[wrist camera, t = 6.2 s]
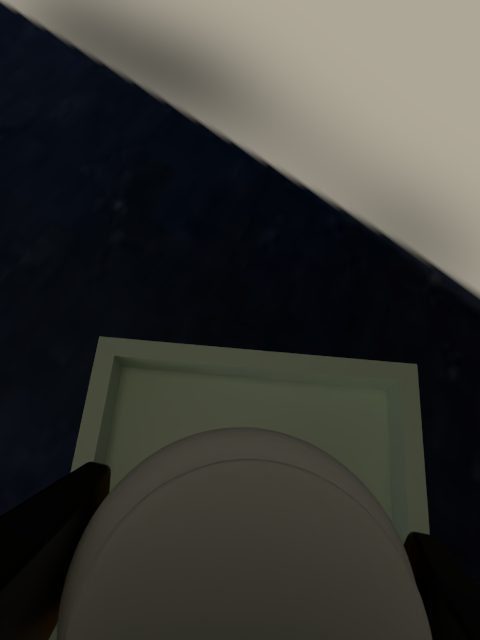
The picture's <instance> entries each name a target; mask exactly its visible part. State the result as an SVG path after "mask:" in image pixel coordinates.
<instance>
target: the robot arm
mask: <svg viewBox="0 0 480 640" xmlns="http://www.w3.org/2000/svg"><path fill="white" fill-rule="evenodd" d="M110 478H111V469H110V467H109V466H108V465H106V464H101V463H97V462H87V463H85V464H84V465H82V466H80V467H79V468H77V469H76V470H74V471H72V472H71V473H69V474H68V475H66V476H64V477H63V478H61V479H60V480H58V481H56V482H55V483H53V484H52V485H50V486H48V487H47V488H45V489H44V490H42V491H40V492H39V493H37V494H35V495H34V496H32V497H31V498H29V499H27V500H26V501H24V502H23V503H21V504H19V505H18V506H16V507H15V508H13V509H11V510H10V511H8V512H7V513H5V514H3V515H2V516H0V640H49V638H50V636H51V634H52V632H53V630H54V628H55V627H56V625H57V623H58V613H59V607H60V601H61V595H62V591H63V587H64V583H65V579H66V575H67V572H68V569H69V565H70V563H71V560H72V557H73V555H74V552H75V550H76V547H77V545H78V543H79V541H80V539H81V536H82V534H83V532H84V530H85V528H86V527H87V525H88V523H89V521H90V520H91V518H92V516H93V515H94V513H95V512H96V510H97V509H98V507H99V506H100V505H101V503H102V502H103V500H104V499H105V498H106V497H107V496H108V494H109V490H110ZM403 546H404V548H405V551H406V553H407V556H408V559H409V562H410V565H411V568H412V571H413V574H414V578H415V582H416V586H417V588H418V591H419V593H420V595H421V598H422V601H423V605H424V608H425V611H426V614H427V618H428V622H429V626H430V630H431V634H432V640H480V587H479V586H478V585H477V584H476V583H475V581H474V580H473V579H472V578H471V577H470V576H469V575H468V574H467V572H466V571H465V570H464V569H463V568H462V567H461V566H460V565H459V563H458V562H457V561H456V560H455V559H454V558H453V557H452V556H451V554H450V553H449V552H448V551H447V550H446V549H445V548H444V547H443V545H442V544H441V543H440V542H439V541H438V540H437V539H436V538H435V537H434V536H432V535H429V534H424V533H420V532H415V531H413V532H410V533H409V534H408V536H407V537H406V540H405V542H404V545H403Z"/></svg>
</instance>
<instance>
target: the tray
mask: <svg viewBox="0 0 480 640" xmlns="http://www.w3.org/2000/svg"><path fill="white" fill-rule="evenodd" d="M235 427H251V428H261V429H267V430H272V431H277V432H281V433H284V434H288V435H291V436H294V437H296V438H299V439H301V440H304V441H306V442H308V443H310V444H312V445H314V446H316V447H318V448H320V449H321V450H323V451H325V452H326V453H328V454H329V455H331V456H332V457H334V458H335V459H336V460H338V461H339V462H341V463H342V464H343V465H344V466H346V467H347V468H348V469H349V470H350V471H352V472H353V473H354V474H355V475H356V476H357V477H358V478H359V479H360V480H361V481H362V482H363V484H364V485H365V486H366V487H367V488H368V489H369V490H370V492H371V493H372V494H373V495H374V496H375V498H376V499H377V500H378V502H379V503H380V505H381V506H382V507H383V509H384V510H385V512H386V514H387V515H388V517H389V518H390V520H391V522H392V523H393V525H394V527H395V529H396V531H397V533H398V535H399V537H400V540H401V542H402V544H403V545H404V542H405V540H406V537H407V536H408V534H409V533H410V532H413V531H415V532H420V533H424V534H429V535H430V532H429V519H428V505H427V492H426V478H425V465H424V451H423V438H422V424H421V411H420V397H419V384H418V370H417V364H407V363H396V362H384V361H373V360H362V359H350V358H339V357H327V356H316V355H304V354H293V353H281V352H270V351H259V350H247V349H236V348H224V347H213V346H201V345H190V344H178V343H167V342H156V341H144V340H133V339H121V338H110V337H99V341H98V346H97V350H96V355H95V360H94V364H93V369H92V374H91V379H90V383H89V388H88V393H87V398H86V402H85V407H84V412H83V417H82V421H81V426H80V431H79V435H78V440H77V445H76V450H75V454H74V459H73V464H72V469H71V472H72V471H74V470H76V469H77V468H79V467H80V466H82V465H84V464H85V463H87V462H97V463H101V464H106V465H108V466H109V467H110V469H111V478H110V490H109V493H110V492H111V491H112V490H113V488H114V487H115V486H116V485H117V484H118V483H119V482H120V481H121V480H122V479H123V478H124V477H125V476H126V475H127V474H128V473H129V472H130V471H131V470H132V469H133V468H134V467H136V466H137V465H138V464H140V463H141V462H142V461H143V460H145V459H146V458H147V457H149V456H150V455H152V454H153V453H155V452H157V451H158V450H160V449H161V448H163V447H165V446H167V445H169V444H171V443H173V442H175V441H177V440H180V439H183V438H185V437H188V436H191V435H194V434H197V433H201V432H204V431H210V430H215V429H222V428H235ZM57 624H58V623H57ZM49 640H57V625H56V627H55V628H54V630H53V632H52V634H51V636H50V638H49Z"/></svg>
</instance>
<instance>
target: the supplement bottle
mask: <svg viewBox="0 0 480 640" xmlns="http://www.w3.org/2000/svg"><path fill="white" fill-rule="evenodd" d="M57 640H432V634H431V630H430V626H429V622H428V618H427V614H426V611H425V608H424V605H423V601H422V598H421V595H420V593H419V591H418V588H417V586H416V582H415V578H414V574H413V571H412V568H411V565H410V562H409V559H408V556H407V553H406V551H405V548H404V546H403V544H402V542H401V540H400V537H399V535H398V533H397V531H396V529H395V527H394V525H393V523H392V522H391V520H390V518H389V517H388V515H387V514H386V512H385V510H384V509H383V507H382V506H381V505H380V503H379V502H378V500H377V499H376V498H375V496H374V495H373V494H372V493H371V492H370V490H369V489H368V488H367V487H366V486H365V485H364V484H363V482H362V481H361V480H360V479H359V478H358V477H357V476H356V475H355V474H354V473H353V472H352V471H350V470H349V469H348V468H347V467H346V466H344V465H343V464H342V463H341V462H339V461H338V460H336V459H335V458H334V457H332V456H331V455H329V454H328V453H326V452H325V451H323V450H321V449H320V448H318V447H316V446H314V445H312V444H310V443H308V442H306V441H304V440H301V439H299V438H296V437H294V436H291V435H288V434H284V433H281V432H277V431H272V430H267V429H261V428H251V427H235V428H222V429H215V430H210V431H204V432H201V433H197V434H194V435H191V436H188V437H185V438H183V439H180V440H177V441H175V442H173V443H171V444H169V445H167V446H165V447H163V448H161V449H160V450H158V451H157V452H155V453H153V454H152V455H150V456H149V457H147V458H146V459H145V460H143V461H142V462H141V463H140V464H138V465H137V466H136V467H134V468H133V469H132V470H131V471H130V472H129V473H128V474H127V475H126V476H125V477H124V478H123V479H122V480H121V481H120V482H119V483H118V484H117V485H116V486H115V487H114V488H113V490H112V491H111V492H110V493H109V494H108V496H107V497H106V498H105V499H104V500H103V502H102V503H101V505H100V506H99V507H98V509H97V510H96V512H95V513H94V515H93V516H92V518H91V520H90V521H89V523H88V525H87V527H86V528H85V530H84V532H83V534H82V536H81V539H80V541H79V543H78V545H77V547H76V550H75V552H74V555H73V557H72V560H71V563H70V565H69V569H68V572H67V575H66V579H65V583H64V587H63V591H62V595H61V601H60V607H59V613H58V624H57Z"/></svg>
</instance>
